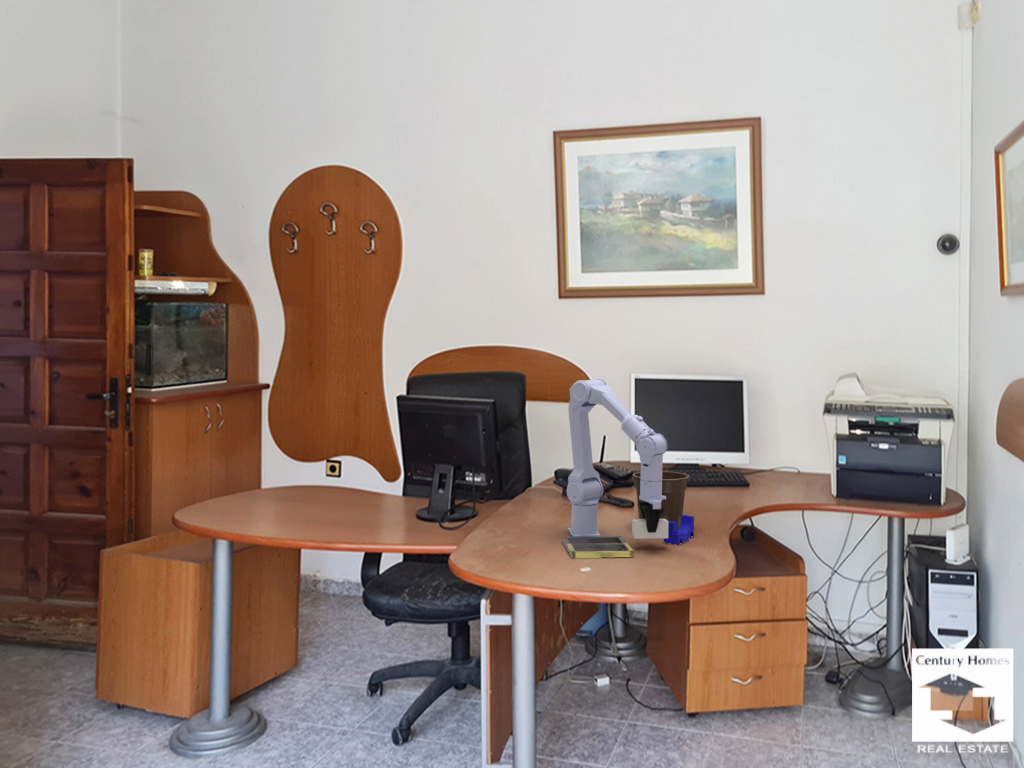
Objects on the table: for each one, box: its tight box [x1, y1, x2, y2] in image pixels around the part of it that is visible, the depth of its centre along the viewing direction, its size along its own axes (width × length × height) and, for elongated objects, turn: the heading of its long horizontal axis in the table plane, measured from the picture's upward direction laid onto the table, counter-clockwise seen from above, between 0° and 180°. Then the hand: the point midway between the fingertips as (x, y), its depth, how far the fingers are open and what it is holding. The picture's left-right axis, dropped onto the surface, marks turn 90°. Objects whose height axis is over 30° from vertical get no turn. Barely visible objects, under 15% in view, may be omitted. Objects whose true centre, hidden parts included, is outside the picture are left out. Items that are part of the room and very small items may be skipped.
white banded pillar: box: [631, 518, 669, 540], centre depth 236 cm, size 4×9×5 cm, turn 94°
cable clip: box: [663, 514, 695, 546], centre depth 245 cm, size 12×4×6 cm, turn 142°
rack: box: [562, 535, 635, 559], centre depth 234 cm, size 17×16×2 cm
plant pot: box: [632, 470, 690, 530], centre depth 258 cm, size 16×16×16 cm
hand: (650, 530), depth 236 cm, fingers closed on white banded pillar, 3 cm apart
